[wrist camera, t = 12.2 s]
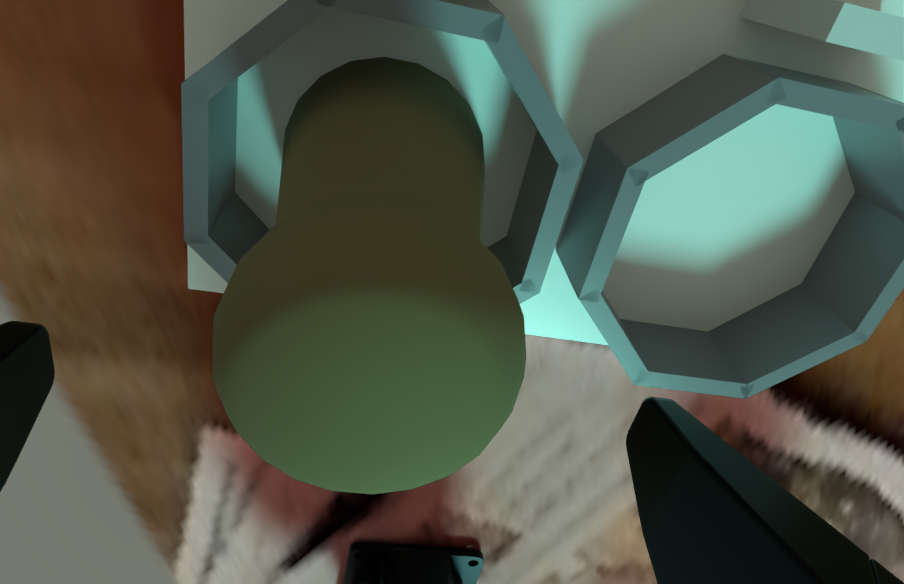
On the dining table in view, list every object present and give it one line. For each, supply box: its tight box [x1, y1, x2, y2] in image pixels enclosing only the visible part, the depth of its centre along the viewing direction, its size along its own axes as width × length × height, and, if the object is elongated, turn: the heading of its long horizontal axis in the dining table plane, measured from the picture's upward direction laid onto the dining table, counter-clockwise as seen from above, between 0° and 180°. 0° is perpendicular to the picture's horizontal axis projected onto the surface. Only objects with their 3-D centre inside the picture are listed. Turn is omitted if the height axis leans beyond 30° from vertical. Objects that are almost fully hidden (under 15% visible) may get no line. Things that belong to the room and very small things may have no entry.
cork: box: [212, 57, 526, 494], centre depth 14 cm, size 6×6×11 cm
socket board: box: [181, 0, 904, 399], centre depth 17 cm, size 13×22×5 cm, turn 78°
